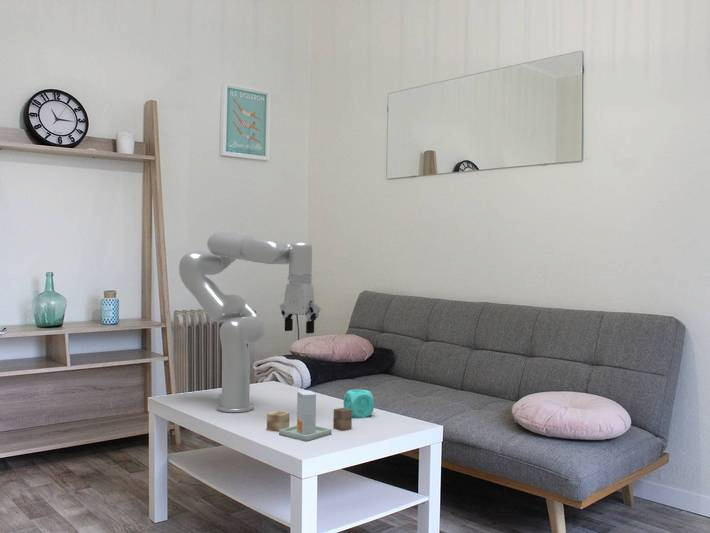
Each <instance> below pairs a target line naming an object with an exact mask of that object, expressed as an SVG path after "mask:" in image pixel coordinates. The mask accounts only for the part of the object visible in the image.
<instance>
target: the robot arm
mask: <svg viewBox="0 0 710 533" xmlns="http://www.w3.org/2000/svg"><path fill="white" fill-rule="evenodd" d="M206 245H207V246H206V247H207V248H208V250H209V251H202V250H200V251H199V250H198V251H197V250H196V251H190V252H188V253H185V254H184V255H183V256H182V257H181V258H180V260H179V265H178V271H179V276H180V280H181V282H182V284H183V286H184V287H185V288H186V289H187V290H188V291H189V293H190V294H191V295H192V296H193V297H194V298H195V300H196V301H197V302H198V304H199V305H200V306H201V308H202V309H203V311H205V313H206V314H207V316H209V318H210V319H211V320H212V321H214V322H216V323H222V324H221V326H220V328H219V337H220V338H219V339H220V345H221V355H222V356H221V358H222V359H221V361H222V362H221V365H222V366H221V368H222V369H221V393H219V395H216V397H215V399H216V400H217V401H219V404H217V405H216V410H218V411H220V412H222V413H224V412H225V413H244V412H250V411H252V410H254V408H255V405H254V404H253V403H251V402H250V393H251V392H250V388H251V387H250V386H251V384H250V383H251V382H250V381H251V380H250V379H251V372H250V371H251V355H250V351H249V348H248V345H247V344H253V343H257V342H259V341H260V340H262V338H263V337H264V335H265V326H264V322H263V321H262V320H261V318H260V317H259V315H258V314H257V313H256V312H255V310H254V309H253V308H252V307H251V305H250V304H249V302H247V301H246V299H245V298H243V297H242V296H239V295H237V294H224V293H223V292H222V290H220V289H219V287H218V286H217V284H216V283H215V282H214V281H213V280H211V279H210V278H209V277H207V276H214V275H215V276H216V275H218V274H220V273H222V272H224V271H225V270H226V269H227V268H228V267H229V266H230V265H231V264H233V263H234V262H235V261H236V260H240V261H241V260H242V261H249V262H252V263H260V264H264V265H288V276H287V281H288V283H286V286H285V289H284V290H285V291H284V300H283V303H281V304H280V305H279V310H280V311H281V315H282V318H283V320H284V331H285V332H292V331H293V329H294V328H293V326H294V325H293V324H294V322H293V321H294V320H293V319H294V318H293V316H294V315H296V316H303V315H304V317H305V318H306V320H307V321H306V322H305V334H314V333H315V321H317V318H319V314H320V312H321V307H320V306H318V304H315V293H314V285H313V284H312V273H313V272H312V268H313V247H312V244H311V242H310V243H309V242H288V241H273V240H262V239H255V238H254V237H252V236H250V235H247V234H246V235H243V234H238V233H234V232H233V233H232V232H222V231H220V232H216V233H215V232H214V233H213V234H211V235H210V236H209V238H208V239H207V244H206ZM206 275H207V276H206Z"/></svg>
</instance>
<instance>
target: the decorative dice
mask: <svg viewBox="0 0 710 533" xmlns="http://www.w3.org/2000/svg"><path fill="white" fill-rule="evenodd" d="M343 408H347V409H351V410H352V418H354V417H357V418H358V419H362V417H365V418H369V417H370V416H371V415H372V414H373V412H374V409H375V400H374V396H373V393H372V392H371V391H370V390H367V389H349V390H347V391H346V392H345V394H344V395H343ZM357 418H356V419H357Z"/></svg>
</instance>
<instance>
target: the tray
mask: <svg viewBox="0 0 710 533" xmlns="http://www.w3.org/2000/svg"><path fill="white" fill-rule="evenodd" d="M332 431H333V430H332V428H327V427H323V426H318V425H316V433H313V434H310V435H302V434H301V433H300V432H299V431H297V424H296V425H292V426H289V427H288V428H284V429H280V430H279V432H278V435H279V436H282V437H287V438H291V439H295V440H299V441H303V442H310V441H312V440H313V441H314V440H316V439H319V438H323V437H327V436H330V435H332Z"/></svg>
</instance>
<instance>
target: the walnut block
mask: <svg viewBox="0 0 710 533" xmlns="http://www.w3.org/2000/svg"><path fill="white" fill-rule="evenodd" d="M332 419H333V421H332V422H333V424H332V425H333V426H332V428H333V429H334V430H337V431H340V432H344V431H349V429H350V430H352V428H353V426H352V422H353V417H352V410H351V409H347V408H344V407H338V408H333V418H332Z"/></svg>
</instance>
